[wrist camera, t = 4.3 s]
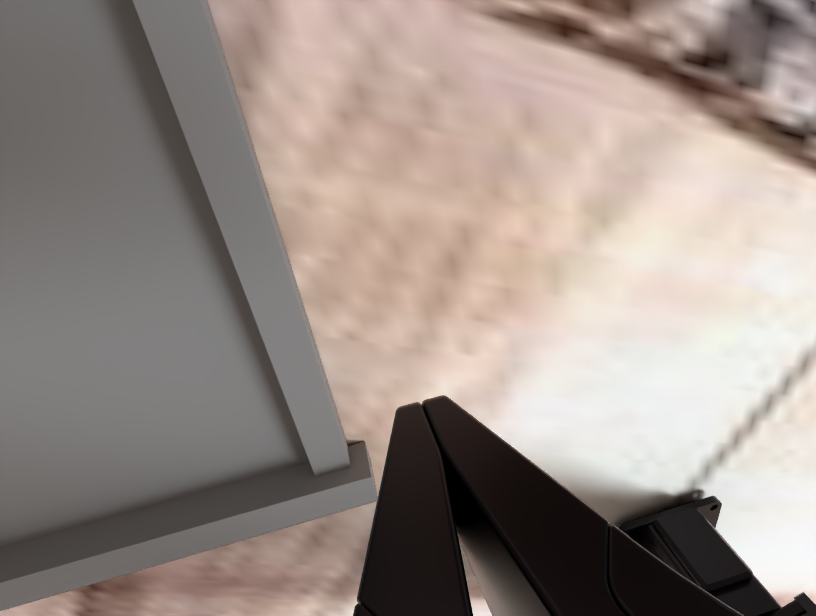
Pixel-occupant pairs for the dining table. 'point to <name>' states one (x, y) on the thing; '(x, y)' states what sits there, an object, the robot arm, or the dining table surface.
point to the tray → (145, 307)
